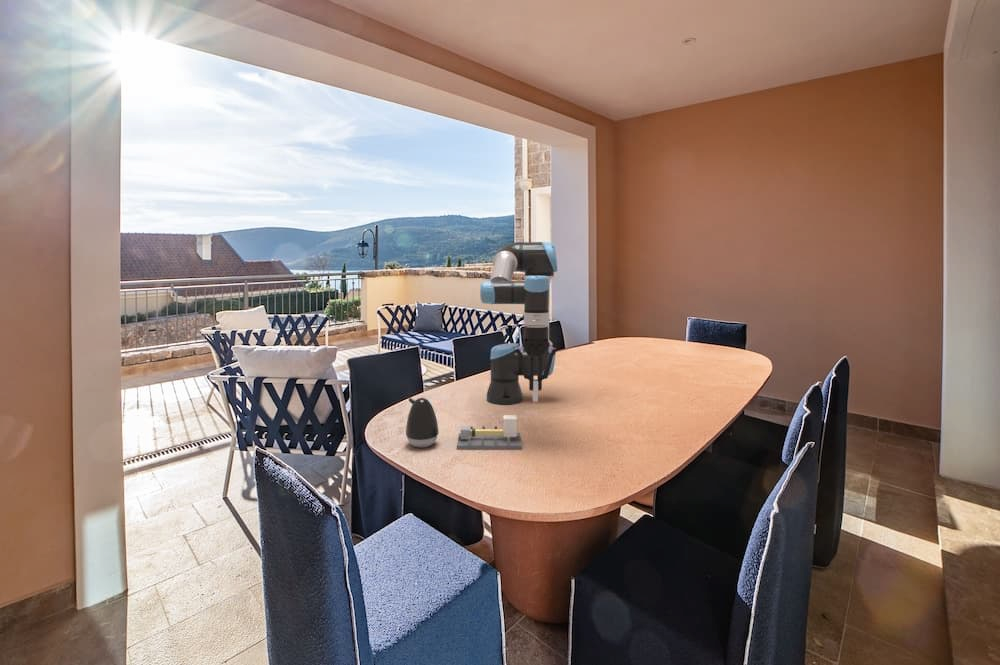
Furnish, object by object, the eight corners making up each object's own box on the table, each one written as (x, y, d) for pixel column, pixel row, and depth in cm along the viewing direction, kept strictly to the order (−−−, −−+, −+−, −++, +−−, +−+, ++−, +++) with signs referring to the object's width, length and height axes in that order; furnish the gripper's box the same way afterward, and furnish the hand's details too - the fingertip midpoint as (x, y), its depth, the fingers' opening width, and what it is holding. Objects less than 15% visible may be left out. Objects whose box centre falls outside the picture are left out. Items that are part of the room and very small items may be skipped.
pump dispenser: (421, 436, 161) (420, 391, 159) (445, 443, 155) (444, 396, 153) (398, 446, 153) (397, 399, 150) (423, 453, 147) (422, 404, 145)
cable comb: (456, 449, 150) (456, 434, 149) (459, 436, 161) (459, 422, 160) (521, 449, 150) (521, 434, 149) (520, 436, 161) (520, 422, 160)
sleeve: (503, 436, 153) (503, 419, 152) (503, 432, 157) (503, 415, 156) (516, 436, 153) (516, 419, 152) (515, 432, 157) (515, 415, 156)
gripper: (515, 327, 146) (514, 403, 149) (558, 327, 146) (557, 403, 149) (514, 324, 154) (514, 397, 157) (555, 324, 154) (554, 397, 157)
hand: (535, 400), depth 153 cm, fingers closed
